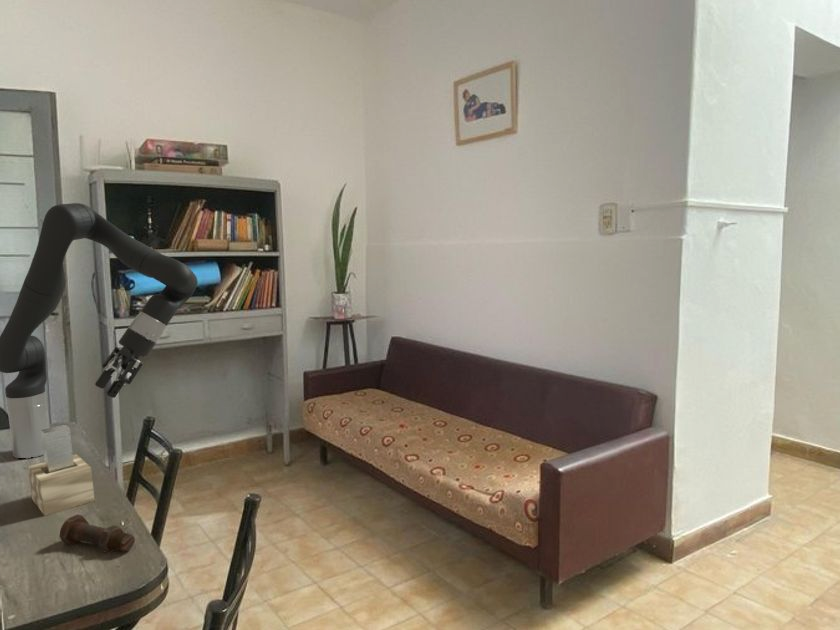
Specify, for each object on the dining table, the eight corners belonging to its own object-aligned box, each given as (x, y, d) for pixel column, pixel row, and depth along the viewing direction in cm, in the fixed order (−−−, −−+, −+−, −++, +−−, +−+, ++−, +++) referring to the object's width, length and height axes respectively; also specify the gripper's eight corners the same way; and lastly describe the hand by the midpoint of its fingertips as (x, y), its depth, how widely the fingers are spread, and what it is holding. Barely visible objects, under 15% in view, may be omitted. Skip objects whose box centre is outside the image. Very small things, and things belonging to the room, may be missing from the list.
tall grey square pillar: (47, 488, 137) (40, 429, 135) (72, 482, 141) (65, 424, 139) (51, 493, 135) (44, 433, 133) (76, 486, 138) (69, 428, 136)
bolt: (127, 563, 114) (69, 548, 119) (144, 540, 118) (87, 526, 123) (113, 546, 111) (54, 531, 116) (131, 523, 114) (73, 509, 119)
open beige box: (32, 499, 139) (28, 466, 138) (79, 485, 146) (76, 454, 145) (44, 515, 130) (40, 481, 129) (94, 500, 137) (91, 467, 136)
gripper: (120, 321, 151) (81, 377, 147) (140, 332, 141) (99, 392, 137) (145, 336, 156) (108, 390, 152) (166, 347, 146) (127, 405, 142)
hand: (104, 391), depth 145 cm, fingers open, 8 cm apart
